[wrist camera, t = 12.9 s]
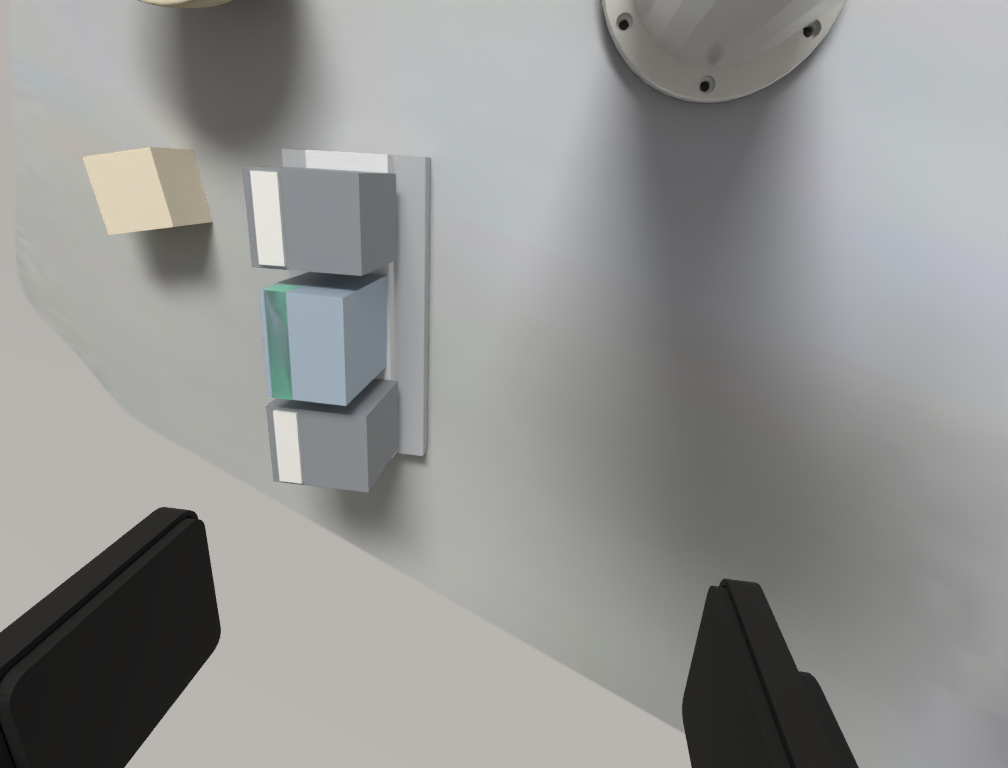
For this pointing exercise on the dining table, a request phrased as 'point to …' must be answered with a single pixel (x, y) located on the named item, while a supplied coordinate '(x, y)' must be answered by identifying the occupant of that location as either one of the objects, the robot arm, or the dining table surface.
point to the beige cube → (147, 189)
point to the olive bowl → (186, 3)
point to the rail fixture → (356, 251)
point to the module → (324, 335)
